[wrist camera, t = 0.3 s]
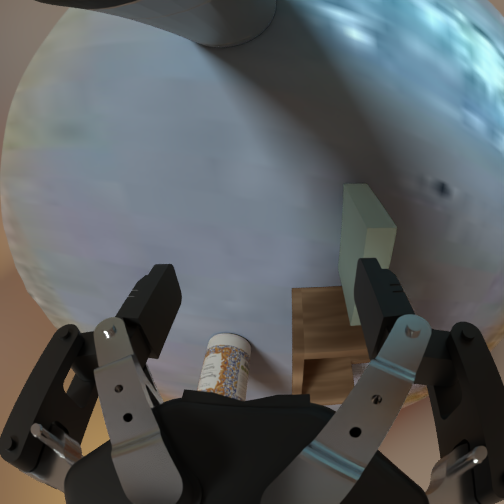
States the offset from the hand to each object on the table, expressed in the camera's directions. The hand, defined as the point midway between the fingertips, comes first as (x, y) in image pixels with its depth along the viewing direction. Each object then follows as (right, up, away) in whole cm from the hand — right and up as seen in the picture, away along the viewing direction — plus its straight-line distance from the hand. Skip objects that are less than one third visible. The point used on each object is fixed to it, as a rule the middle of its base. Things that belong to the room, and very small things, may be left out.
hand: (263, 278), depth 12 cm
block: (+11, +4, +18) cm, 21 cm away
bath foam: (-4, -14, +32) cm, 35 cm away
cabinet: (+12, -9, +26) cm, 31 cm away
